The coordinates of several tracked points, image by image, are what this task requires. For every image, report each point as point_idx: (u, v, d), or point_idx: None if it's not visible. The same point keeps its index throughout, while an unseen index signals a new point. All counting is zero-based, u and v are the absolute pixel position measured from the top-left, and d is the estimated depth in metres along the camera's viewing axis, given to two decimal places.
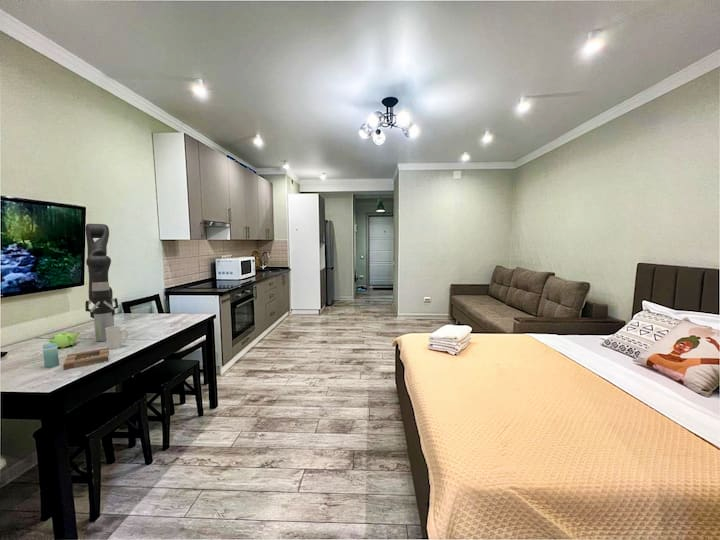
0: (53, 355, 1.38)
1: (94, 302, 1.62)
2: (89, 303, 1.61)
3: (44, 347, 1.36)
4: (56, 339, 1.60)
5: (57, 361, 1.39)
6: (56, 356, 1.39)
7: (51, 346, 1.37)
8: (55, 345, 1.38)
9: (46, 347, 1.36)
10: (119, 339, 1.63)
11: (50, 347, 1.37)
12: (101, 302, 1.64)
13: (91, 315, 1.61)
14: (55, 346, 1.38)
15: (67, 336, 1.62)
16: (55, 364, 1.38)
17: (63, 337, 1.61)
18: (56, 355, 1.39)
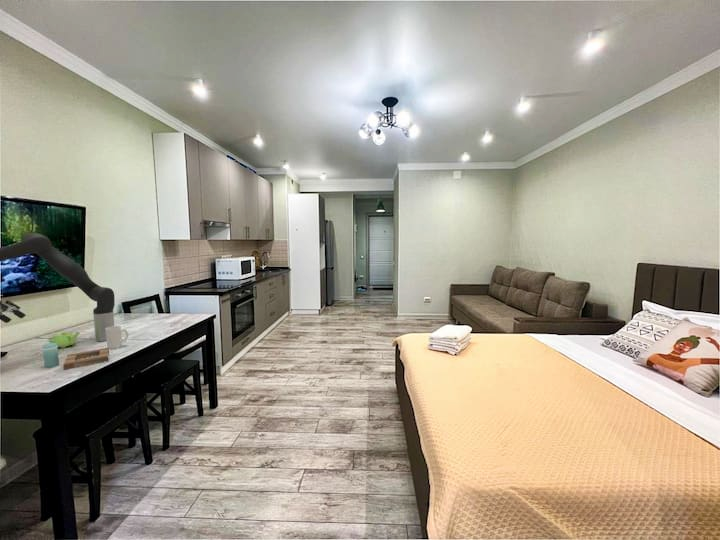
0: (53, 355, 1.38)
1: None
2: None
3: (44, 347, 1.36)
4: (56, 339, 1.60)
5: (57, 361, 1.39)
6: (56, 356, 1.39)
7: (51, 346, 1.37)
8: (55, 345, 1.38)
9: (46, 347, 1.36)
10: (119, 339, 1.63)
11: (50, 347, 1.37)
12: None
13: None
14: (55, 346, 1.38)
15: (67, 336, 1.62)
16: (55, 364, 1.38)
17: (63, 337, 1.61)
18: (56, 355, 1.39)
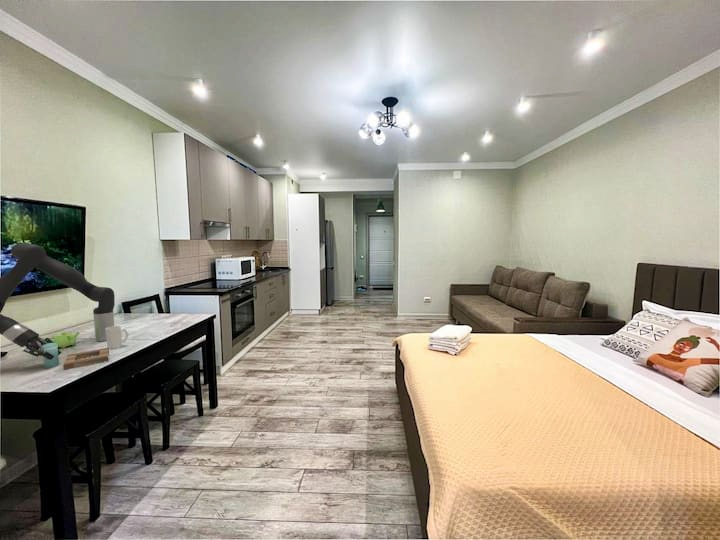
0: None
1: None
2: None
3: (44, 347, 1.36)
4: (56, 339, 1.60)
5: (57, 361, 1.39)
6: (56, 356, 1.39)
7: (51, 346, 1.37)
8: (55, 345, 1.38)
9: (46, 347, 1.36)
10: (119, 339, 1.63)
11: (50, 347, 1.37)
12: None
13: None
14: (55, 346, 1.38)
15: (67, 336, 1.62)
16: (55, 364, 1.38)
17: (63, 337, 1.61)
18: (56, 355, 1.39)
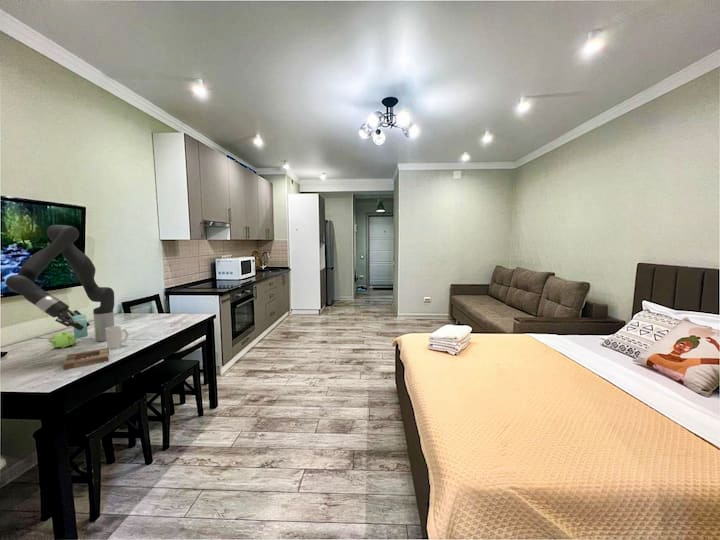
0: None
1: None
2: None
3: (74, 318, 1.40)
4: (56, 339, 1.60)
5: (86, 332, 1.44)
6: (85, 327, 1.44)
7: (81, 317, 1.42)
8: (84, 316, 1.43)
9: (76, 318, 1.41)
10: (119, 339, 1.63)
11: (80, 318, 1.41)
12: None
13: None
14: (84, 317, 1.43)
15: (67, 336, 1.62)
16: (84, 335, 1.43)
17: (63, 337, 1.61)
18: (85, 326, 1.44)
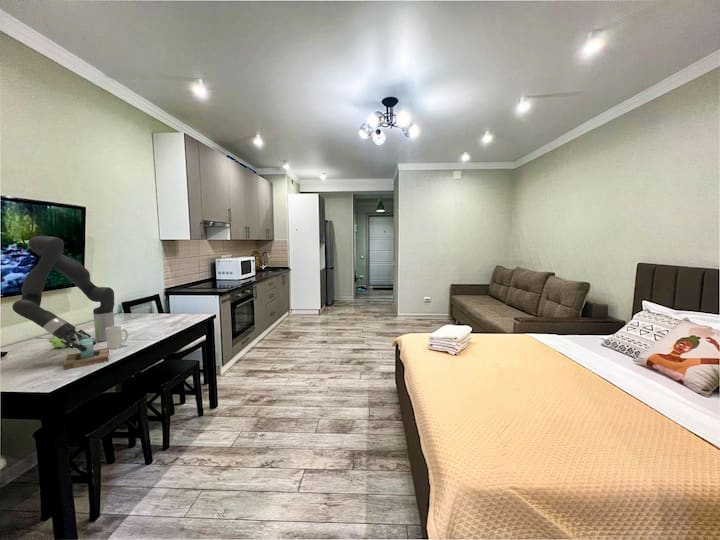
0: (89, 350, 1.44)
1: None
2: None
3: (81, 342, 1.43)
4: (56, 339, 1.60)
5: (92, 356, 1.46)
6: (92, 351, 1.46)
7: (87, 341, 1.44)
8: (91, 340, 1.45)
9: (83, 342, 1.43)
10: (119, 339, 1.63)
11: (87, 343, 1.44)
12: None
13: None
14: (91, 341, 1.45)
15: None
16: None
17: None
18: (92, 350, 1.46)
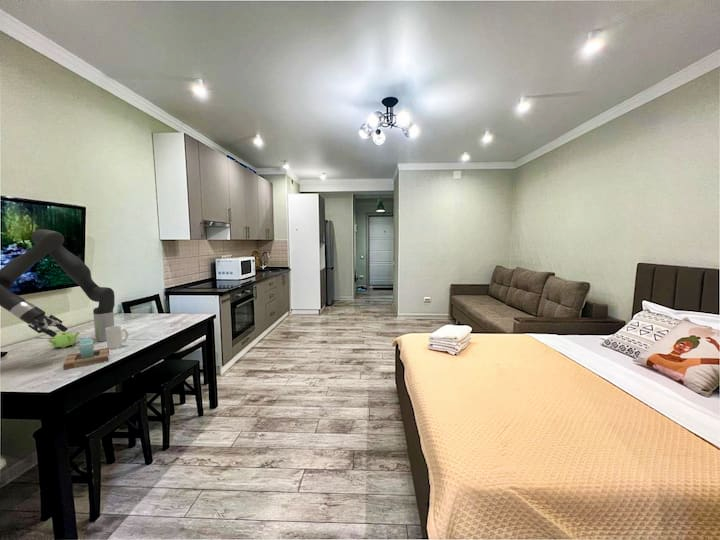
0: (89, 350, 1.44)
1: None
2: None
3: (81, 342, 1.43)
4: (56, 339, 1.60)
5: (92, 356, 1.46)
6: (92, 351, 1.46)
7: (87, 341, 1.44)
8: (91, 340, 1.45)
9: (83, 342, 1.43)
10: (119, 339, 1.63)
11: (87, 343, 1.44)
12: None
13: None
14: (91, 341, 1.45)
15: (67, 336, 1.62)
16: None
17: (63, 337, 1.61)
18: (92, 350, 1.46)
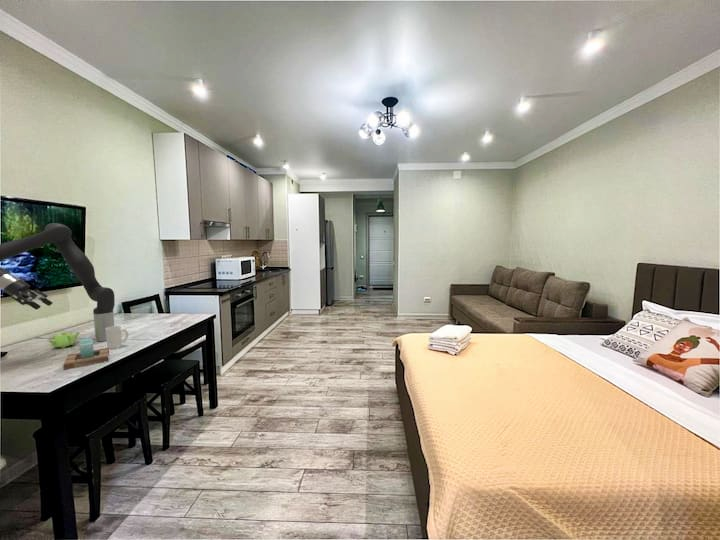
0: (89, 350, 1.44)
1: None
2: None
3: (81, 342, 1.43)
4: (56, 339, 1.60)
5: (92, 356, 1.46)
6: (92, 351, 1.46)
7: (87, 341, 1.44)
8: (91, 340, 1.45)
9: (83, 342, 1.43)
10: (119, 339, 1.63)
11: (87, 343, 1.44)
12: None
13: None
14: (91, 341, 1.45)
15: (67, 336, 1.62)
16: None
17: (63, 337, 1.61)
18: (92, 350, 1.46)
